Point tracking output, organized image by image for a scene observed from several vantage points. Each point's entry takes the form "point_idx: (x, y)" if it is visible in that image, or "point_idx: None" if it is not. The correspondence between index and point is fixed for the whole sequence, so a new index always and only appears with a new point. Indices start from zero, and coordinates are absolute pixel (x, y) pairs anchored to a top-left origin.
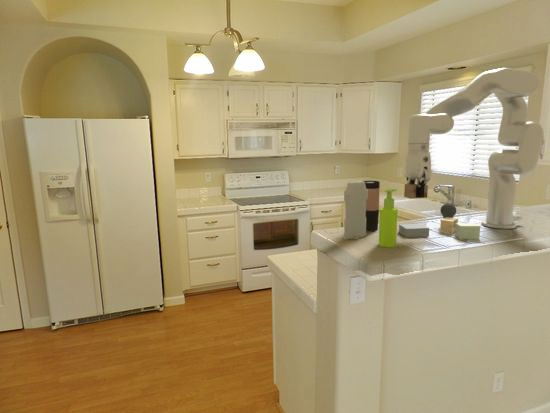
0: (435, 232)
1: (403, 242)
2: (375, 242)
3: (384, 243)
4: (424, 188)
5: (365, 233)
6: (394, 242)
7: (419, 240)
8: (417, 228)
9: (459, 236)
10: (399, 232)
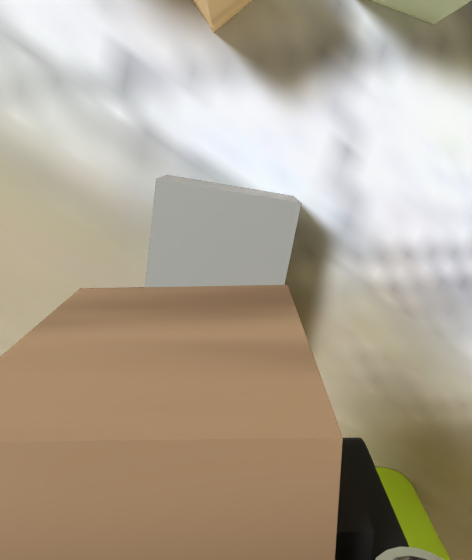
0: (223, 85)
1: (362, 412)
2: None
3: None
4: (357, 486)
5: None
6: (423, 507)
7: (361, 313)
8: None
9: (438, 18)
10: None
